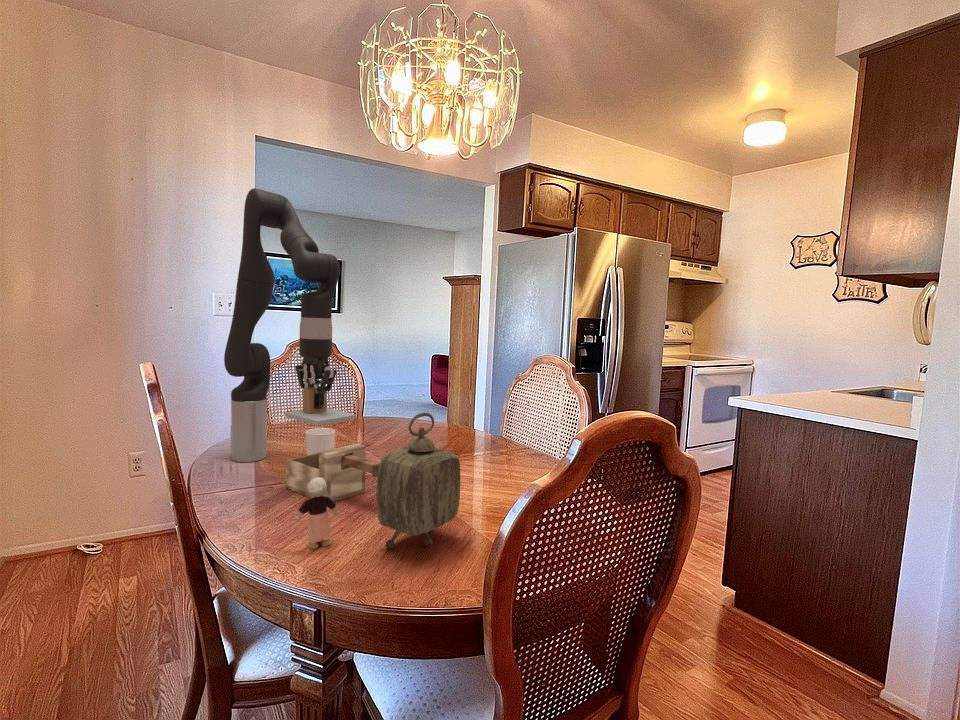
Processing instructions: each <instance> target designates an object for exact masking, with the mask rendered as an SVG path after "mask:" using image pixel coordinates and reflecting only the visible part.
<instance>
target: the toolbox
mask: <svg viewBox="0 0 960 720" xmlns="http://www.w3.org/2000/svg"><path fill="white" fill-rule="evenodd" d="M366 448H367V447H366V445H364V444H360V443H354V444H350V445H346V446H341V447H335V448H334V449H331V450H327V451H323V452H319V453H315V454H310V455H307V454H306V455H302V456H298V457H293V458H289V459H285V488H286V487H287V488H289V489H291V490H294V491H296V492H298V493H297V494H299V493H301V494H303V495H302V496H304V495H305V496H304V497H306V496H308V497H307V498H309V497H310V498H309V499H311V498H314V496H312V495H311V493H310V492H309V491H308V485H309V483H310V482H311V480H313V479H314V478H317V477H318V478H319V477H320V478H323V479H324V480H325V482H326V485H327V487H326V490H325V492H324V494H323V495H322V496H326V497H329V498H330V499H331V500H332V501H333V502H334V503H336V502H339V501H343V500H345V499H348V498H350V497H354V496H357V495H360V494H363V493H365V492H366V471H363V470H359V469H356V468H353V467H350V466H347V465H343V464H342V456H345V455H349V454H351V455H354V456H358V457H361V458H365V459H367V458H366V454H367V453H366V452H367V450H366ZM289 489H288V490H289ZM291 490H290V491H291ZM294 491H293V492H294ZM296 492H295V493H296ZM301 494H300V495H301ZM338 500H339V501H338ZM335 501H336V502H335Z"/></svg>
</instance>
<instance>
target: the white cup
mask: <svg viewBox="0 0 960 720" xmlns="http://www.w3.org/2000/svg"><path fill="white" fill-rule="evenodd" d="M335 442H336V429H333V428H330V427H316V428H311V429H307V430H306V431H305V446H306V447H305V449H306V455H310V454H315V453H319V452H323V451H327V450H331V449H335V445H336V443H335Z"/></svg>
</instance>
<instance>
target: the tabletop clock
mask: <svg viewBox="0 0 960 720" xmlns="http://www.w3.org/2000/svg"><path fill="white" fill-rule="evenodd" d="M423 417H428V418H430V420H431V425H430V427H428V429H426V430H425V428H424V427H420V428H418V432H414V431H413V430H412V426H413V423H414V422H415V421H416V420H417V419H419V418H423ZM434 426H435V419H434V416H433V415H432V414H431V413H429V412H421V413H418V414H416V415H414V416H413V417H412V418H411V419H410V421H409V423H408V431H409V433H410V435H412V436H414V437H413V438H412V439H411V440H410V441H409V443H408V444H407V446H403V447H400V448H398V449H395V450H393V451H389V452H388V453H387V454H385V455H384V456H383V457H382V458H381V459H380V462H379V463H380V466H379V470H378V476H377V480H376V492H375V495H376V513H377V518H378V522H379V524H380V525H381V526H384V527H387V528H389V529H393V530H395V532H394V533H393V536H392V537H391V539H387V540H386V541H385V542H384V543H385V547H386V549H389V550H390V549H393V547H394V546H395V540H396V539H397V537H398V536H399V535H400V534H401V533H403V534H406V535H409V536H419V535H422V534H424V535H425V538H424V540H423V543H424V546H426V547H431V546H432V545H433V542H434V541H433V539H432V537H430V534H429V532H430V531H433V530H435V529H438V528H440V527H442V526H443V525H446V524H447V523H449V522H451V520H453V519H454V518H455V517H456V516H457V515H458V511H459V508H460V507H459V506H460V496H461V495H460V494H461V464H460V459H459V458H458V456H457V455H456V454H455V453H454V452H453V451H450V450H445V449H441V448H436V446H435V444H434V441H432V440H431V439H430V437H427V436H425V435H427V434H428V433H430V432H431V431H432V430H433V428H434Z"/></svg>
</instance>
